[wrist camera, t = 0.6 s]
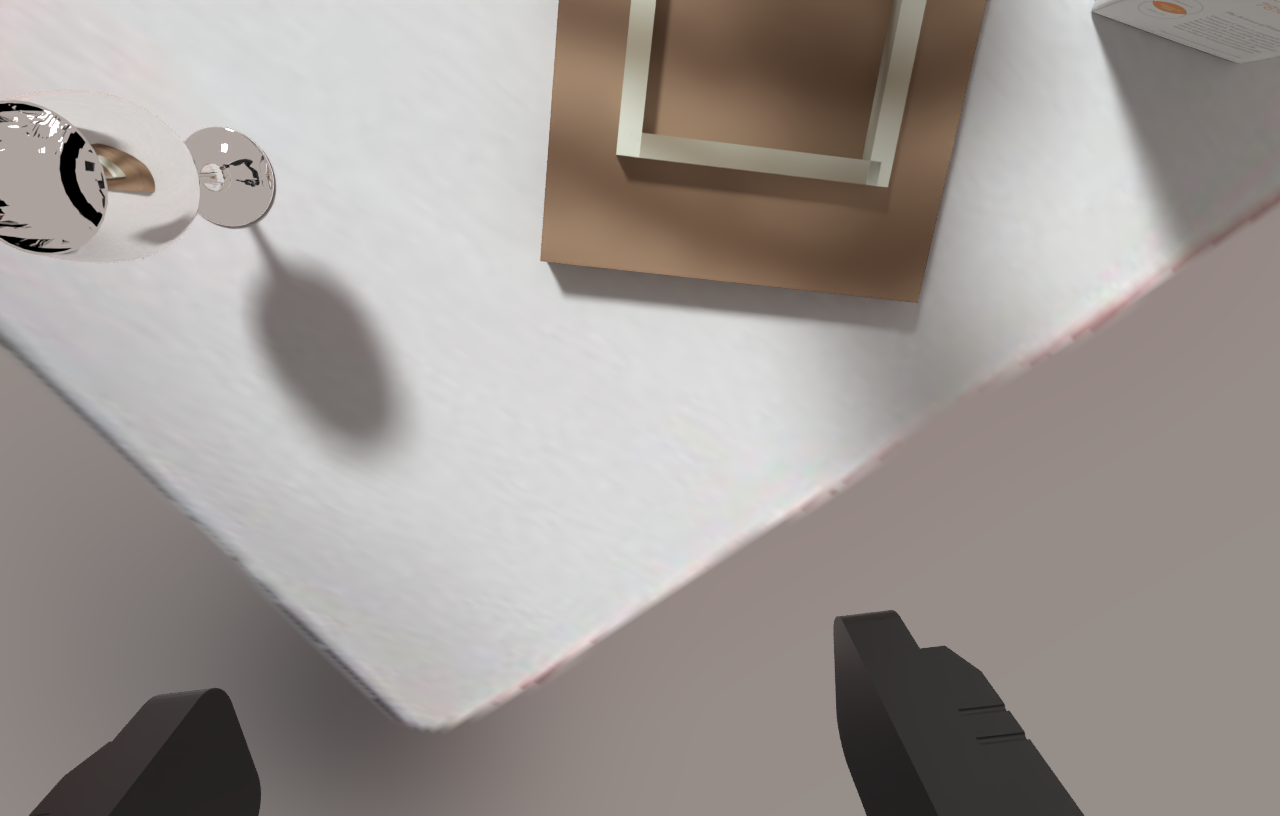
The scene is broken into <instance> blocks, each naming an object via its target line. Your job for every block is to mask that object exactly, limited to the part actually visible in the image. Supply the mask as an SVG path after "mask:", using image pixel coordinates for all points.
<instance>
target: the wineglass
mask: <svg viewBox="0 0 1280 816" xmlns="http://www.w3.org/2000/svg"><path fill="white" fill-rule="evenodd" d="M273 193H274V176H273V171H272V168H271V165H270V163H269V161H268V159H267V157H266V155H265V154H264V152H263V151H262V149H261V148H260V147H259V146H258V145H257V144H256V143H255V142H254V141H253V140H252V139H251V138H249V137H247V136H246V135H244V134H243V133H241V132H239V131H237V130H234V129H231V128H228V127H218V126H213V127H207V128H203V129H200V130H198V131H196V132H194V133H193V134H191V135H190V136H189V137H188V138H187V139H186V140H185V141H183V140H182V139H181V137H180V136H179V135H178V134H177V133H176V132H175V131H174V130H173V129H172V128H171V127H170V126H169V125H168V124H167V123H166V122H165V121H164V120H162V119H161V118H160V117H158V116H157V115H155V114H154V113H152V112H151V111H149V110H147V109H146V108H144V107H142V106H140V105H137V104H135V103H133V102H130V101H128V100H125V99H122V98H119V97H116V96H113V95H109V94H105V93H99V92H91V91H81V90H58V91H48V92H37V93H29V94H24V95H20V96H15V97H11V98H6V99H2V100H0V241H2V242H4V243H5V244H7V245H9V246H11V247H13V248H16V249H18V250H21V251H24V252H28V253H31V254H35V255H40V256H46V257H51V258H57V259H63V260H71V261H80V262H93V263H116V262H124V261H132V260H137V259H142V258H145V257H148V256H151V255H153V254H156V253H158V252H160V251H163V250H165V249H167V248H168V247H170V246H171V245H173V244H174V243H176V242H177V241H178V240H180V239H181V238H182V237H183V236H184V235H185V234H186V233H187V231H188V230H189V229H190V227H191V226H192V224H193V223H194V221H195V219H196V216H197V213H198V214H199V215H201V216H202V217H204V218H205V219H207V220H209V221H211V222H213V223H216V224H220V225H223V226H234V227H235V226H242V225H246V224H249V223H251V222H254V221H255V220H257V219H258V218H259V217H261V216H262V215H263V214H264V212H265V211H266V210H267V209H268V207H269V205H270V203H271V200H272V197H273Z"/></svg>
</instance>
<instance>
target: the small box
mask: <svg viewBox="0 0 1280 816" xmlns="http://www.w3.org/2000/svg"><path fill="white" fill-rule="evenodd" d="M1092 11H1093V12H1095V13H1097V14H1100V15H1103V16H1106V17H1108V18H1111V19H1114V20H1117V21H1119V22H1122V23H1125V24H1128V25H1130V26H1133V27H1136V28H1139V29H1142V30H1144V31H1147V32H1150V33H1153V34H1156V35H1158V36H1161V37H1164V38H1167V39H1170V40H1172V41H1175V42H1178V43H1181V44H1184V45H1186V46H1189V47H1192V48H1195V49H1198V50H1201V51H1204V52H1207V53H1209V54H1212V55H1215V56H1218V57H1221V58H1224V59H1227V60H1230V61H1233V62H1236V63H1239V64H1244V63H1248V62H1253V61H1258V60H1264V59H1270V58H1275V57H1280V0H1095V3H1094V5H1093V8H1092Z"/></svg>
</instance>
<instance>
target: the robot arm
mask: <svg viewBox="0 0 1280 816" xmlns="http://www.w3.org/2000/svg"><path fill="white" fill-rule="evenodd" d="M834 657H835V658H834V659H835V685H836V710H837V722H838V729H839V734H840V740H841V744H842V748H843V752H844V756H845V759H846V762H847V765H848V768H849V770H850V773H851V776H852V778H853V781H854V783H855V786H856V789H857V791H858V794H859V796H860V798H861V802H862V804H863V807H864V809H865V812H866V815H867V816H1084V814H1083V813H1082V812H1081V811H1080V809H1079V808H1078V806H1077V805H1076V803H1075V802H1074V801H1073V799H1072V798H1071V796H1070V795H1069V794H1068V792H1067V791H1066V789H1065V788H1064V787H1063V785H1062V784H1061V782H1060V781H1059V780H1058V778H1057V777H1056V775H1055V774H1054V773H1053V771H1052V770H1051V768H1050V767H1049V766H1048V764H1047V763H1046V762H1045V760H1044V759H1043V757H1042V756H1041V755H1040V753H1039V752H1038V750H1037V749H1036V748H1035V746H1034V745H1033V743H1032V742H1031V740H1030V739H1029V740H1027V739H1026V737H1025V732H1024V731H1023V729H1022V728H1021V727H1020V725H1019V724H1018V722H1017V721H1016V720H1015V718H1014V717H1013V715H1012V714H1011V712H1010V711H1006V709H1005V705H1004V703H1003V701H1002V700H1001V699H1000V697H999V696H998V694H997V693H996V692H995V690H994V689H993V687H992V686H991V684H990V683H989V682H988V680H987V679H986V678H985V676H984V675H983V673H982V672H981V671H980V670H979V669H977V668H976V667H974V666H973V665H971V664H970V663H969V662H967V661H966V660H964V659H963V658H961V657H960V656H959V655H957V654H956V653H954V652H953V651H952V650H950V649H948V648H947V647H946V646H939V647H930V648H922V649H920V648H919V647H918V645H917V644H916V642H915V640H914V639H913V637H912V635H911V634H910V632H909V630H908V629H907V627H906V626H905V624H904V622H903V621H902V619H901V618H900V616H899V615H898V614H897V613H896V612H895V611H894V610H889V611H882V612H872V613H864V614H855V615H847V616H838V617H836V618H835V620H834ZM260 802H261V788H260V781H259V777H258V774H257V771H256V768H255V765H254V763H253V760H252V757H251V754H250V751H249V749H248V746H247V743H246V740H245V738H244V735H243V732H242V729H241V727H240V724H239V721H238V718H237V716H236V713H235V710H234V707H233V705H232V702H231V700H230V698H229V696H228V695H227V693H226V692H224V691H223V690H221V689H219V688H212V689H204V690H195V691H187V692H178V693H169V694H161V695H157V696H155V697H152V698H151V699H150V700H148V701H147V702H146V703H145V704H144V705H143V706H142V707H141V709H140V710H139V711H138V712H137V713H136V714H135V716H134V717H133V718H132V719H131V720H130V721H129V723H128V724H127V725H126V726H125V727H124V728H123V729H122V731H121V732H120V733H119V734H118V735H117V736H116V738H115V739H114V740H113V741H112V742H108V743H107V744H106V745H105V746H103V747H102V748H101V749H99V750H98V751H97V752H95V753H94V754H93V755H91V756H90V757H89V758H87V759H86V760H85V761H83V762H82V763H81V764H79V765H78V766H77V767H76V768H74V769H73V770H72V771H70V772H69V773H68V774H66V775H65V776H64V777H63V778H62V779H61V780H60V781H59V782H58V783H57V785H56V786H55V787H54V788H53V789H52V790H51V791H50V792H49V794H48V795H47V796H46V797H45V798H44V799H43V800H42V801H41V802H40V804H39V805H38V806H37V807H36V808H35V809H34V810H33V812H32V813H31V814H30V815H29V816H258V815H259V809H260Z"/></svg>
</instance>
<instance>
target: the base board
mask: <svg viewBox="0 0 1280 816" xmlns="http://www.w3.org/2000/svg"><path fill="white" fill-rule="evenodd" d="M986 1H987V0H559V6H558V20H557V34H556V48H555V62H554V76H553V90H552V104H551V118H550V132H549V146H548V160H547V174H546V188H545V202H544V216H543V230H542V244H541V259H540V261H544V262H553V263H562V264H571V265H580V266H590V267H599V268H608V269H617V270H626V271H635V272H644V273H653V274H662V275H671V276H680V277H689V278H698V279H707V280H716V281H725V282H735V283H744V284H753V285H762V286H771V287H780V288H789V289H798V290H807V291H816V292H825V293H834V294H843V295H852V296H861V297H870V298H880V299H889V300H898V301H907V302H916V303H918V299H919V294H920V290H921V285H922V281H923V277H924V272H925V268H926V264H927V259H928V255H929V250H930V246H931V242H932V237H933V233H934V229H935V224H936V220H937V216H938V211H939V207H940V202H941V198H942V194H943V189H944V185H945V181H946V176H947V172H948V167H949V163H950V159H951V154H952V150H953V146H954V141H955V137H956V133H957V128H958V124H959V119H960V115H961V111H962V106H963V102H964V98H965V93H966V89H967V84H968V80H969V76H970V71H971V67H972V63H973V58H974V54H975V49H976V45H977V41H978V36H979V32H980V28H981V23H982V19H983V15H984V10H985V6H986Z"/></svg>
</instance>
